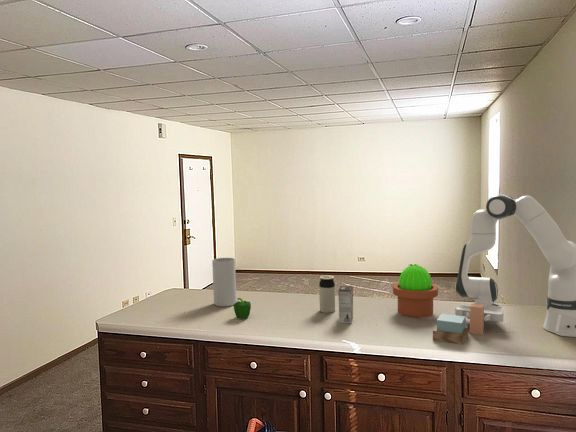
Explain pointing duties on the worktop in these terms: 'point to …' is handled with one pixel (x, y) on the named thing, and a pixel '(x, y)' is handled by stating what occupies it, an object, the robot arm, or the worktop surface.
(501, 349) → the worktop surface
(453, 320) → the grey-teal top block
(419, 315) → the potted cactus
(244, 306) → the bell pepper
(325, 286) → the travel mug
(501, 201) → the robot arm
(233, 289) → the cylinder vase
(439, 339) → the walnut base block
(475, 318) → the terracotta tall block
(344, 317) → the coffee box
